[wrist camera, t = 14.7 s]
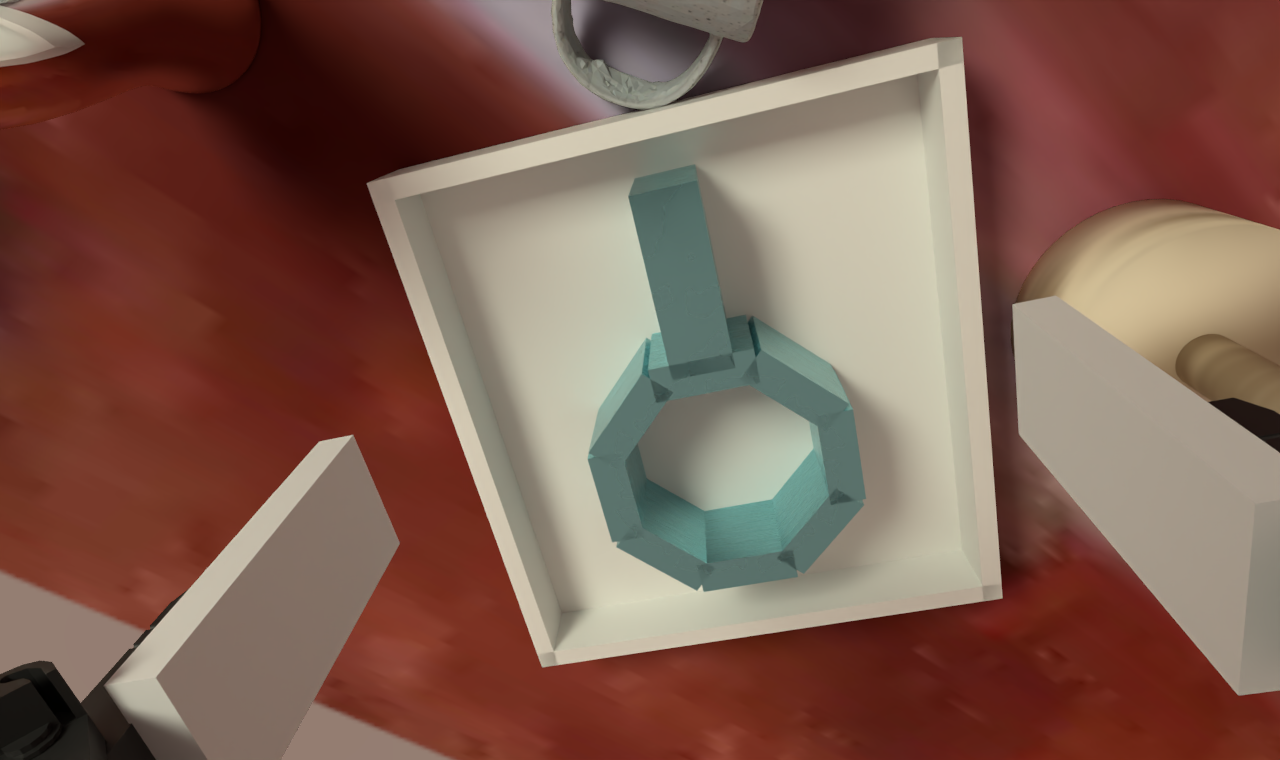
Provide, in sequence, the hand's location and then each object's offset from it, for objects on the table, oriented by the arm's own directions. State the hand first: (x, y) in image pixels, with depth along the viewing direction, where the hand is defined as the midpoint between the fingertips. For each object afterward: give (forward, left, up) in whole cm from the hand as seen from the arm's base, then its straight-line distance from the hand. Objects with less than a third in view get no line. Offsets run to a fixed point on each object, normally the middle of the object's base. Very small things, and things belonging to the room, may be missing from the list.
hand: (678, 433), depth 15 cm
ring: (+6, 0, -17) cm, 18 cm away
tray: (+6, 0, -18) cm, 19 cm away
